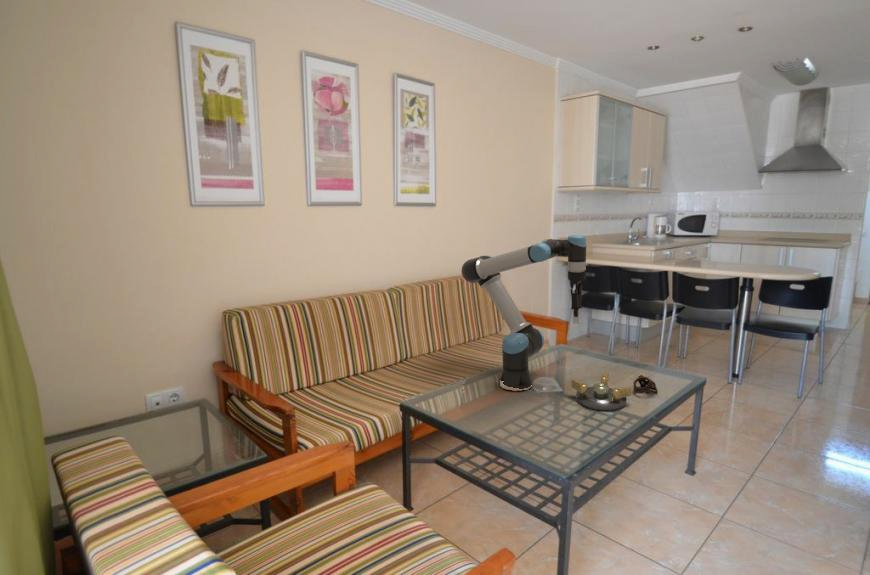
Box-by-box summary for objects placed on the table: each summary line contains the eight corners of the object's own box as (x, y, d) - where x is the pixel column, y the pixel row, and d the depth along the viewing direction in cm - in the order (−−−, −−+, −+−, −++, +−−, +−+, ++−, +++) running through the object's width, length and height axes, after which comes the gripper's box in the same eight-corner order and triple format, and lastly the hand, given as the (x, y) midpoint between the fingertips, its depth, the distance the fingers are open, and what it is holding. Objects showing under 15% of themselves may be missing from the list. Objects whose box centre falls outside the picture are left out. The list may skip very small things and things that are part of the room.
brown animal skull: (663, 397, 201) (656, 384, 198) (641, 406, 203) (635, 393, 200) (651, 380, 212) (645, 367, 208) (631, 388, 214) (624, 375, 211)
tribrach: (571, 406, 196) (571, 389, 195) (581, 387, 213) (581, 372, 212) (622, 415, 187) (623, 397, 185) (629, 395, 204) (629, 379, 202)
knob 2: (606, 390, 204) (607, 379, 203) (600, 389, 205) (600, 378, 204) (609, 382, 211) (610, 372, 210) (603, 382, 212) (603, 371, 211)
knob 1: (588, 396, 198) (588, 385, 197) (582, 397, 198) (582, 386, 197) (575, 389, 206) (576, 378, 205) (570, 390, 205) (570, 379, 204)
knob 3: (615, 403, 191) (615, 391, 190) (610, 400, 194) (611, 389, 193) (632, 399, 194) (632, 388, 193) (627, 396, 196) (627, 385, 195)
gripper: (582, 273, 198) (581, 327, 203) (588, 268, 210) (588, 320, 214) (564, 273, 202) (564, 326, 207) (571, 268, 213) (571, 318, 218)
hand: (576, 323), depth 210 cm, fingers closed
